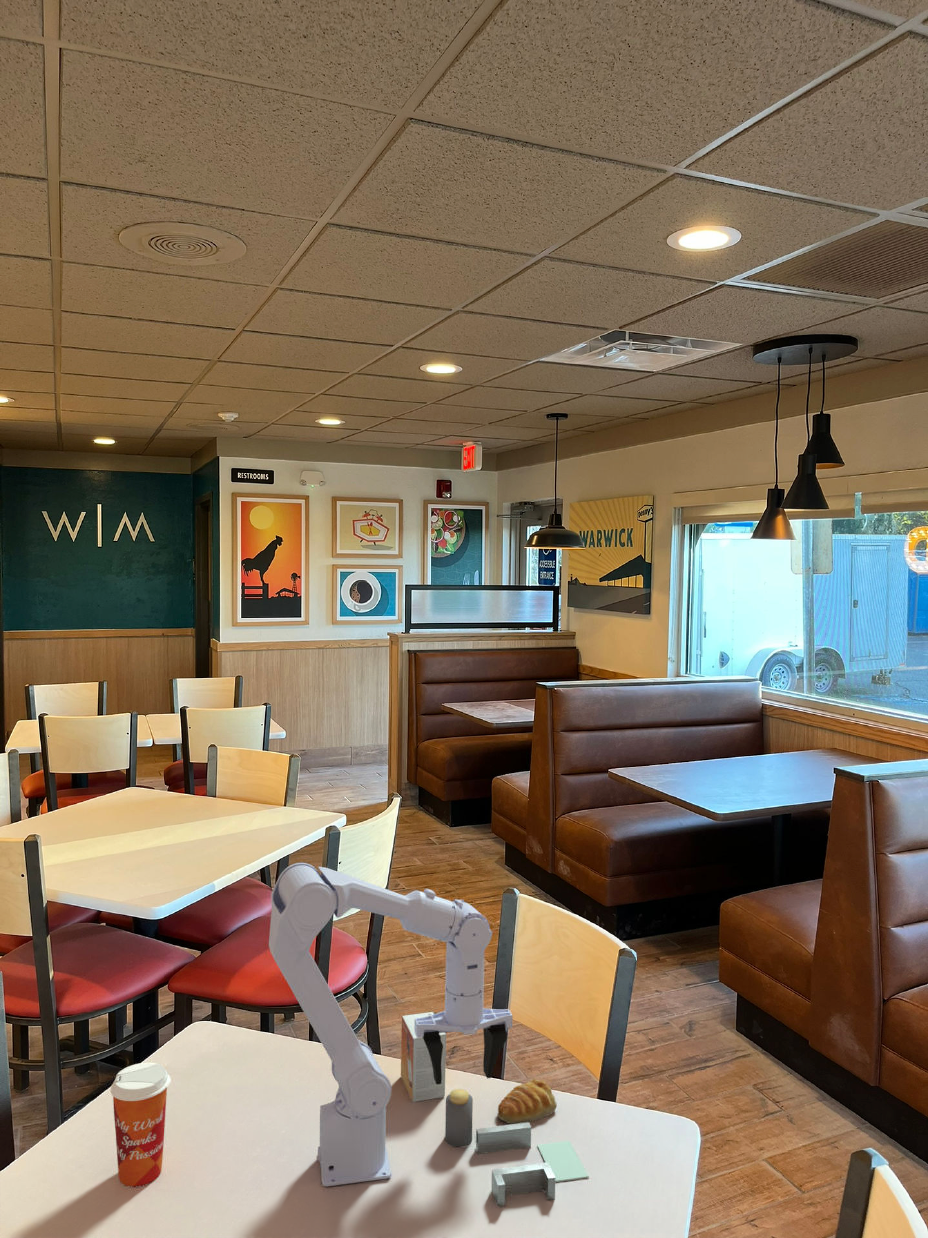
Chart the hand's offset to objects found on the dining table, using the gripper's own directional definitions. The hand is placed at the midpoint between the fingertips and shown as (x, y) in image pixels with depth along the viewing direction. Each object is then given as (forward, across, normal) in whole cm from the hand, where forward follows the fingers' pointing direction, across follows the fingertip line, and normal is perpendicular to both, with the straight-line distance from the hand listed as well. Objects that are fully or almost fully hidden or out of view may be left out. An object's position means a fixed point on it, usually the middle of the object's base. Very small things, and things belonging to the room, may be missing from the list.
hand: (462, 1077), depth 131 cm
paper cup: (+10, -45, +2) cm, 46 cm away
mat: (+9, +13, -8) cm, 18 cm away
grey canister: (+9, 0, 0) cm, 9 cm away
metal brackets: (+9, +5, -8) cm, 13 cm away
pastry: (+10, +12, +5) cm, 16 cm away
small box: (+10, -3, +15) cm, 18 cm away
